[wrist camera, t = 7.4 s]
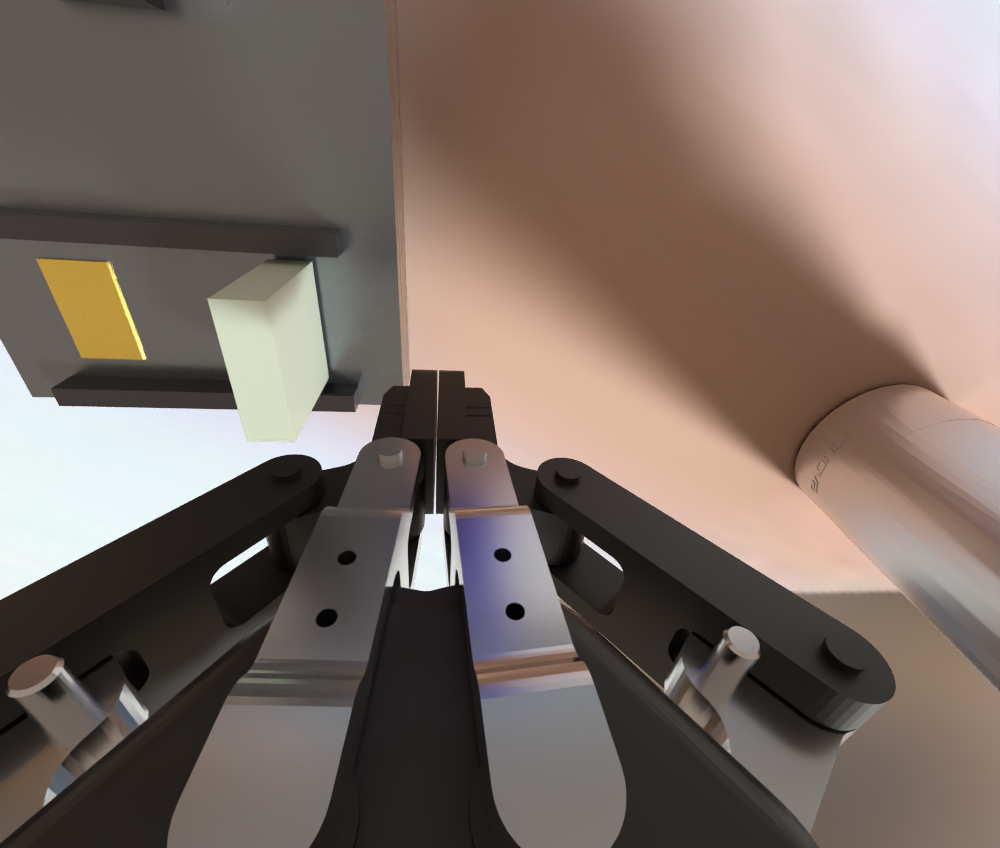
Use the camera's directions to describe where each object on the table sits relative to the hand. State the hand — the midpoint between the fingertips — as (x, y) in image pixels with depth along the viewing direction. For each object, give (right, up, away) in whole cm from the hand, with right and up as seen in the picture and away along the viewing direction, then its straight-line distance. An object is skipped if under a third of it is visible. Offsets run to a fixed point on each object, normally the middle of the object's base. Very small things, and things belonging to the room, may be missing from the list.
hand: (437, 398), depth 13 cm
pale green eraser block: (-6, +3, +5) cm, 9 cm away
